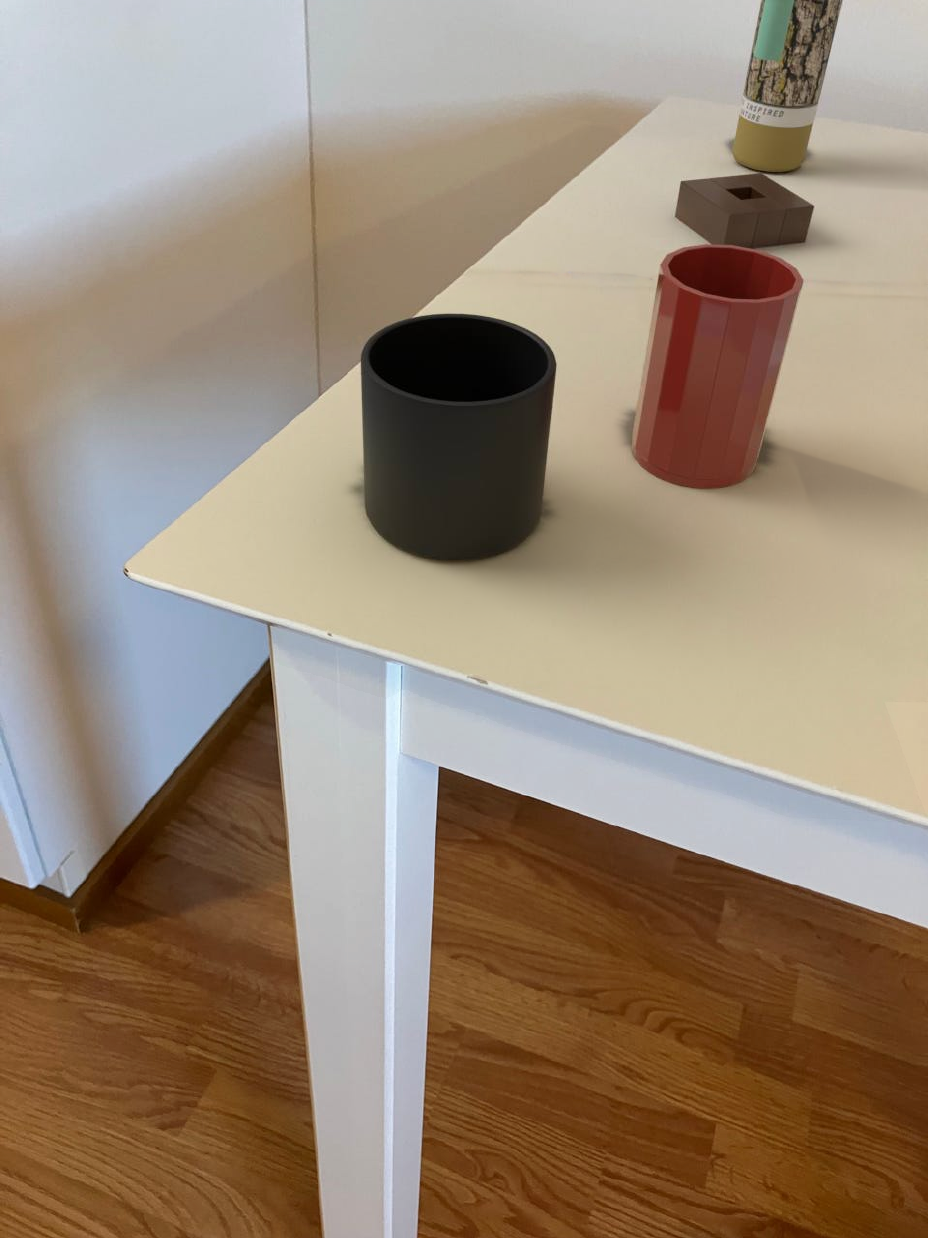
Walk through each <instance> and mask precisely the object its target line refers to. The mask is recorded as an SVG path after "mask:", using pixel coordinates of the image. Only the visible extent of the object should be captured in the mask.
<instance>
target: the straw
mask: <svg viewBox="0 0 928 1238" xmlns="http://www.w3.org/2000/svg"><path fill="white" fill-rule="evenodd" d="M793 4H794V0H765V3H764V7H763V12H762V17H761V22H760V27H759V31H758V36H757V41H756V46H755V51H754V56H755V57H756V58H759V59H762V60H770V61H775V60H780V59H781V57H782V53H783V48H784V44H785V39H786V35H787V30H788V26H789V22H790V17H791V13H792V8H793Z"/></svg>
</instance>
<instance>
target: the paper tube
mask: <svg viewBox="0 0 928 1238" xmlns="http://www.w3.org/2000/svg"><path fill="white" fill-rule="evenodd" d="M843 1H844V0H794V4H793V8H792V13H791V17H790V22H789V26H788V30H787V35H786V39H785V44H784V48H783V53H782V57H781V59H780V60H775V61H770V60H762V59H759V58H756V57H755V56H754V51H755V46H756V41H757V36H758V31H759V27H760V22H761V17H762V12H763V7H764V3H765V0H760V5H759V9H758V15H757V22H756V26H755V32H754V36H753V42H752V47H751V51H750V52H751V53H750V55H749V56H750V57H749V62H748V67H747V72H746V78H745V82H744V87H743V89H744V90H743V92H742V98H741V103H740V108H739V115H738V120H737V125H736V130H735V136H734V140H733V144H732V145H733V146H732V156H733V158H734V160H735V161H736V162H737V163H738V164H739V165H741V166H743V167H746V168H749V169H752V170H756V171H760V172H768V173H769V172H770V173H786V172H790V171H791V172H792V171H794V170H797V169H798V168H800V167H801V166H802V164H803V163H804V161H805V159H806V155H807V150H808V147H809V143H810V138H811V134H812V130H813V125H814V122H815V119H816V115H817V109H818V105H819V101H820V97H821V94H822V88H823V84H824V80H825V77H826V73H827V67H828V63H829V59H830V55H831V51H832V46H833V42H834V38H835V34H836V30H837V26H838V22H839V18H840V14H841V9H842V6H843Z"/></svg>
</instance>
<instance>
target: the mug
mask: <svg viewBox="0 0 928 1238" xmlns="http://www.w3.org/2000/svg"><path fill="white" fill-rule="evenodd" d="M556 375H557V360H556V356H555V353H554V352H553V349H552V347H551V346H550V345H549V344H548V343H547V342H546V341H545V340H544V339H543V338H542V337H540V336H539V335H538V334H536V333H535V332H533V331H531V330H530V329H528V328H525V327H523V326H521V325H519V324H516V323H514V322H510V321H507V320H504V319H500V318H495V317H491V316H485V315H479V314H471V313H433V314H426V315H419V316H414V317H410V318H409V317H408V318H405V319H401V320H399V321H396V322H394V323H391V324H388V325H386V326H384V327H383V328H381V329H380V330H378V331H377V332H375V333H374V334H373V335H372V336H370V337H369V338H368V340H367V341H366V342H365V344H364V346H363V348H362V351H361V353H360V382H361V383H360V385H361V386H360V387H361V388H360V389H361V420H362V421H361V422H362V423H361V424H362V425H361V426H362V454H363V455H362V457H363V459H362V460H363V488H364V491H363V492H364V510H365V513H366V516H367V519H368V520H369V522H370V524H371V526H372V527H373V528H374V530H375V531H376V532H377V534H378V535H379V536H380V537H382V538H383V539H384V540H385V541H387V542H388V543H389V544H391V545H393V546H395V547H396V548H398V549H400V550H402V551H405V552H407V553H410V554H413V555H416V556H419V557H423V558H428V559H433V560H442V561H449V562H450V561H451V562H452V561H461V562H462V561H474V560H480V559H481V560H482V559H485V558H489V557H494V556H497V555H501V554H504V553H505V552H508V551H510V550H512V549H514V548H516V547H517V546H519V545H520V544H521V543H523V542H524V541H525V540H526V539H527V538H529V536H530V535H531V534H532V533H533V532H534V530H535V529H536V527H537V525H538V524H539V521H540V519H541V516H542V510H543V500H544V491H545V481H546V480H545V479H546V471H547V462H548V461H547V460H548V452H549V443H550V433H551V423H552V413H553V405H554V395H555V394H554V393H555V386H556V385H555V384H556Z"/></svg>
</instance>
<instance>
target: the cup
mask: <svg viewBox="0 0 928 1238" xmlns="http://www.w3.org/2000/svg"><path fill="white" fill-rule="evenodd" d="M804 282H805V281H804V278H803V277H802V275H801V273H800V271H799V270H798V269H797V268H796V267H795V266H794V265H792V264H791V263H789V262H787V261H786V260H784V259H783V258H781V257H778V256H775V255H773V254H770V253H768V252H765V251H762V250H759V249H756V248H755V249H750V248H744V247H739V246H734V245H713V244H710V243H709V244H708V243H705V244H698V245H697V244H696V245H691V246H682V247H680V248H678V249H676V250H674V251H670V252H669V253H667V254H666V255H665V257H664V258H663V259H662V261H661V263H660V264H659V271H658V277H657V283H656V288H655V294H654V301H653V307H652V312H651V318H650V326H649V331H648V332H649V333H648V338H647V344H646V350H645V354H644V355H645V356H644V361H643V362H644V363H643V367H642V375H641V380H640V386H639V392H638V398H637V405H636V412H635V417H634V423H633V429H632V436H631V437H632V441H631V451H632V454H633V457H634V459H635V461H636V462H637V463H638V464H639V466H641V467H642V468H643V469H644V470H645V471H647V472H648V473H649V474H651V475H652V476H655V477H657V478H658V479H661V480H663V481H666V482H669V483H671V484H675V485H679V486H683V487H688V488H695V489H717V488H720V489H721V488H725V487H731V486H733V485H736V484H738V483H741V482H742V481H744V480H746V479H747V478H749V477H750V476H751V474H752V473H753V472H754V470H755V468H756V466H757V461H758V458H759V455H760V452H761V448H762V444H763V440H764V437H765V433H766V428H767V425H768V421H769V417H770V414H771V409H772V406H773V402H774V398H775V395H776V391H777V386H778V383H779V378H780V374H781V371H782V367H783V363H784V358H785V355H786V352H787V347H788V344H789V339H790V336H791V333H792V328H793V324H794V320H795V318H796V317H795V316H796V313H797V309H798V305H799V301H800V297H801V293H802V290H803V285H804Z"/></svg>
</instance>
